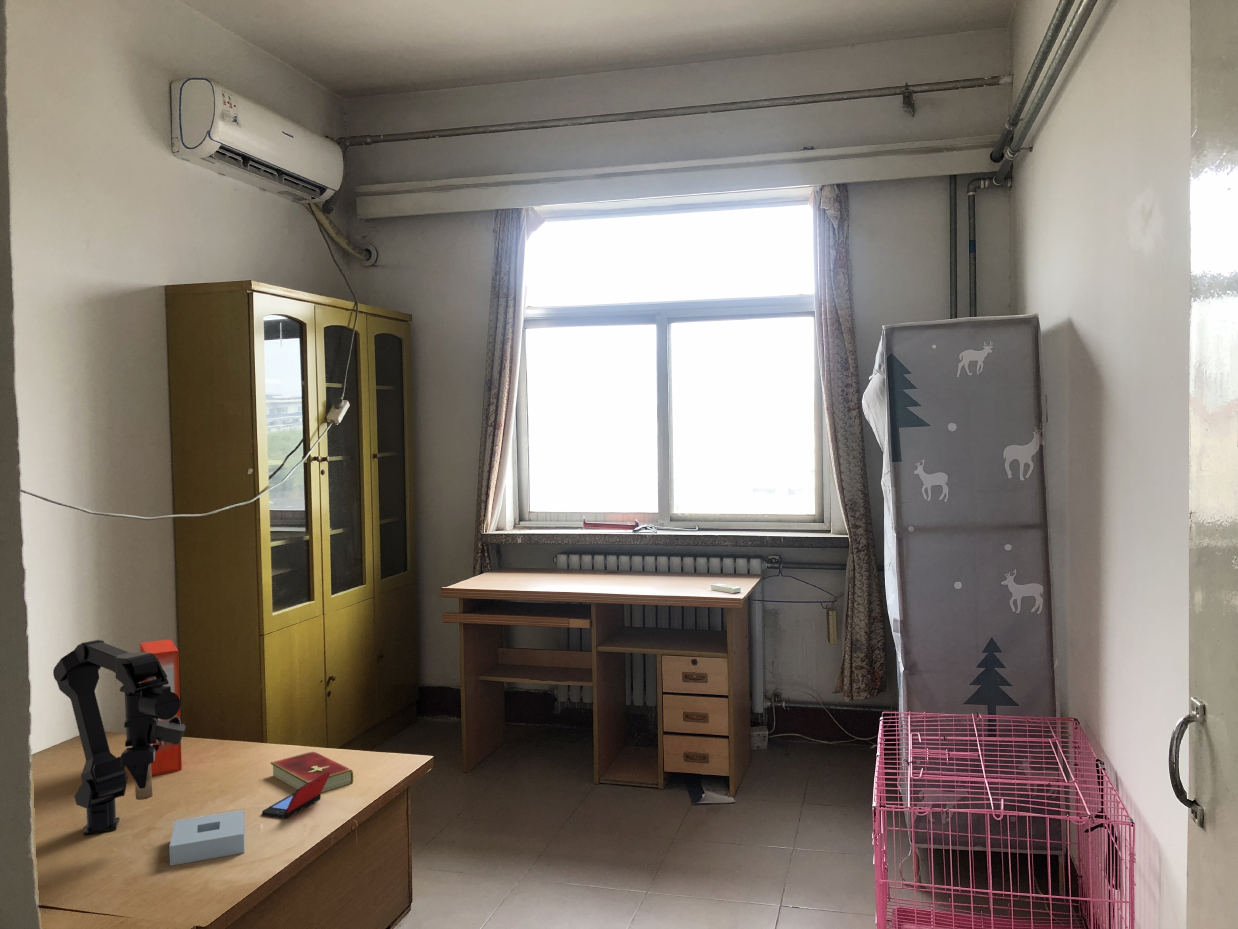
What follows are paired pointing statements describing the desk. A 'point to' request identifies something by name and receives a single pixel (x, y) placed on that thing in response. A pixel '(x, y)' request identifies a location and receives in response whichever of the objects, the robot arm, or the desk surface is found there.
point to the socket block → (207, 837)
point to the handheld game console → (298, 799)
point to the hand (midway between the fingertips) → (143, 785)
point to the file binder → (169, 660)
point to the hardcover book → (311, 770)
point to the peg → (146, 791)
